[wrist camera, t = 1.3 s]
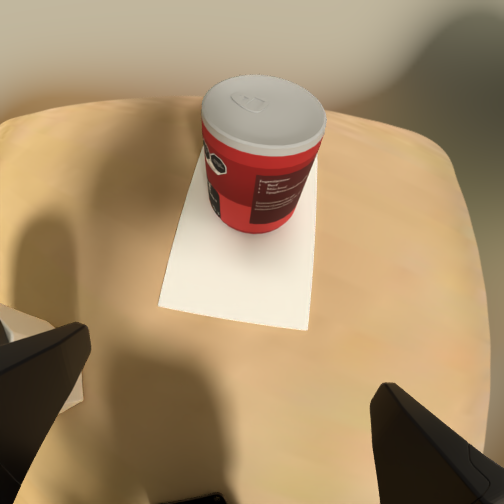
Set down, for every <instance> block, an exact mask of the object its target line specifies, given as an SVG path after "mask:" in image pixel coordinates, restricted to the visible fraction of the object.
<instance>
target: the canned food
mask: <svg viewBox="0 0 504 504" xmlns="http://www.w3.org/2000/svg"><path fill="white" fill-rule="evenodd" d="M201 118H202V134H203V145H204V155H205V165H206V175H207V184H208V193H209V200H210V203H211V206H212V208H213V210H214V211H215V213H216V214H217V216H218V217H219V218H220V219H221V220H222V221H223V222H224V223H225V224H226V225H228V226H229V227H231V228H233V229H235V230H237V231H240V232H243V233H248V234H263V233H268V232H271V231H273V230H275V229H278V228H279V227H280V226H282V225H283V224H284V223H286V222H287V221H288V220H289V219H290V217H291V216H292V215H293V213H294V211H295V208H296V206H297V203H298V201H299V198H300V196H301V193H302V191H303V188H304V186H305V183H306V181H307V178H308V176H309V173H310V170H311V168H312V165H313V163H314V160H315V158H316V155H317V152H318V150H319V147H320V144H321V141H322V138H323V135H324V132H325V127H326V121H327V119H326V113H325V110H324V108H323V106H322V105H321V103H320V102H319V101H318V99H317V98H316V97H315V96H313V95H312V94H311V93H310V92H309V91H307V90H306V89H304V88H303V87H301V86H299V85H297V84H295V83H293V82H290V81H287V80H284V79H281V78H277V77H273V76H266V75H242V76H237V77H233V78H229V79H226V80H223V81H221V82H219V83H218V84H216V85H214V86H213V87H212V88H211V89H210V90H208V92H207V93H206V95H205V96H204V98H203V101H202V109H201Z"/></svg>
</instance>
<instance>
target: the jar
mask: <svg viewBox="0 0 504 504" xmlns="http://www.w3.org/2000/svg"><path fill="white" fill-rule="evenodd" d="M52 329H55V327H54V326H52V325H51V324H50V323H49V322H48V321H45V320H42V319H39V318H36V317H34V316H31V315H28V314H26V313H23V312H21V311H18V310H16V309H13V308H11V307H8V306H6V305H4V304H1V303H0V345H4V344H7V343H10V342H13V341H17V340H20V339H23V338H26V337H29V336H33V335H36V334H39V333H42V332H45V331H48V330H52ZM82 401H83V386H82V371H81V373H80V375H79V378H78V380H77V382H76V384H75V386H74V388H73V390H72V392H71V394H70V395H69V397H68V399H67V400H66V402H65V404H64V405H63V407H62V409H61V410H60V412H59V414H60V413H62V412H64V411H66V410H67V409H69V408H71V407H73V406H75V405H76V404H78V403H80V402H82Z"/></svg>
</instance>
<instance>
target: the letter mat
mask: <svg viewBox="0 0 504 504" xmlns="http://www.w3.org/2000/svg"><path fill="white" fill-rule="evenodd" d="M316 197H317V155H316V158H315V160H314V163H313V165H312V168H311V170H310V173H309V176H308V178H307V181H306V183H305V186H304V188H303V191H302V193H301V196H300V198H299V201H298V203H297V206H296V208H295V211H294V213H293V215H292V216H291V217H290V219H289V220H288V221H287V222H286V223H284V224H283V225H282V226H280V227H279V228H278V229H275V230H273V231H271V232H268V233H263V234H248V233H243V232H240V231H237V230H235V229H233V228H231V227H229V226H228V225H226V224H225V223H224V222H223V221H222V220H221V219H220V218H219V217H218V216H217V214H216V213H215V211H214V210H213V208H212V206H211V203H210V200H209V193H208V184H207V175H206V165H205V155H204V145H203V147H202V150H201V153H200V156H199V159H198V162H197V165H196V168H195V171H194V174H193V177H192V181H191V184H190V187H189V190H188V193H187V197H186V200H185V203H184V207H183V210H182V213H181V217H180V220H179V224H178V227H177V231H176V235H175V238H174V242H173V246H172V249H171V253H170V257H169V261H168V265H167V269H166V273H165V277H164V281H163V285H162V290H161V294H160V298H159V303H158V306H159V307H164V308H168V309H173V310H178V311H183V312H189V313H194V314H199V315H205V316H210V317H216V318H222V319H228V320H234V321H240V322H246V323H253V324H260V325H267V326H274V327H281V328H289V329H297V330H306V331H307V330H308V320H309V310H310V299H311V287H312V274H313V260H314V243H315V223H316Z"/></svg>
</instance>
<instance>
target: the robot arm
mask: <svg viewBox="0 0 504 504" xmlns="http://www.w3.org/2000/svg"><path fill="white" fill-rule="evenodd" d="M90 352H91V342H90V335H89V329H88V327H87V326H86V325H84V324H81V323H79V322H74V323H70V324H67V325H64V326H61V327H58V328H55V329H52V330H48V331H45V332H42V333H39V334H36V335H33V336H29V337H26V338H23V339H20V340H17V341H13V342H10V343H7V344H4V345H0V504H13V503H14V500H15V498H16V496H17V493H18V491H19V489H20V487H21V484H22V482H23V480H24V478H25V476H26V474H27V472H28V470H29V468H30V466H31V464H32V462H33V460H34V458H35V456H36V454H37V452H38V450H39V448H40V446H41V444H42V443H43V441H44V439H45V437H46V435H47V433H48V432H49V430H50V428H51V426H52V424H53V423H54V421H55V419H56V417H57V416H58V414H59V412H60V410H61V409H62V407H63V405H64V404H65V402H66V400H67V399H68V397H69V395H70V394H71V392H72V390H73V388H74V386H75V384H76V382H77V380H78V378H79V375H80V373H81V371H82V369H83V367H84V365H85V363H86V361H87V359H88V357H89V355H90ZM370 417H371V432H372V447H373V454H374V460H375V467H376V474H377V481H378V488H379V496H380V504H504V468H503V467H501V466H500V465H498V464H497V463H495V462H494V461H492V460H491V459H489V458H488V457H486V456H485V455H484V454H482V453H481V452H480V451H478V450H477V449H476V448H475V447H473V446H472V445H471V444H469V443H468V442H467V441H466V440H464V439H463V438H462V437H461V436H459V435H458V434H457V433H456V432H455V431H453V430H452V429H451V428H450V427H448V426H447V425H446V424H445V423H443V422H442V421H441V420H440V419H438V418H437V417H436V416H435V415H433V414H432V413H431V412H430V411H429V410H427V409H426V408H425V407H424V406H422V405H421V404H420V403H419V402H417V401H416V400H415V399H414V398H413V397H411V396H410V395H409V394H408V393H406V392H405V391H404V390H403V389H402V388H400V387H399V386H398V385H397V384H395V383H387V382H385V383H382V384H381V385H380V387H379V388H378V390H377V392H376V393H375V395H374V397H373V398H372V400H371V403H370ZM215 497H220V499H215ZM161 504H228V503H227V501H226V499H225V498H224V496H223V495H222V494H221V493H218V492H217V493H212V494H208V495H203V496H199V497H194V498H190V499H185V500H179V501H174V502H168V503H161Z"/></svg>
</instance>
